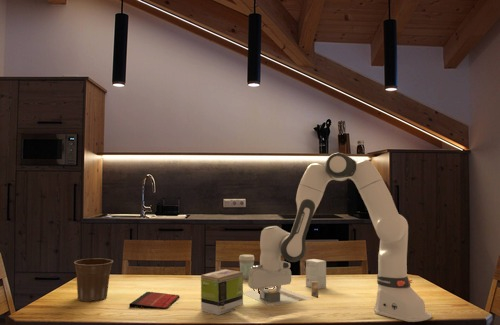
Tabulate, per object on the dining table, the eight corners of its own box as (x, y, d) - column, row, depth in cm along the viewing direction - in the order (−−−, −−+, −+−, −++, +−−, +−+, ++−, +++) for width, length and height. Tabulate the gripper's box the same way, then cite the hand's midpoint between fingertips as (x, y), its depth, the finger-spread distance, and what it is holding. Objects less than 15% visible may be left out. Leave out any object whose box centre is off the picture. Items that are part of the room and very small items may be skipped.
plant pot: (119, 295, 207) (120, 259, 207) (98, 304, 191) (99, 265, 192) (88, 292, 211) (88, 257, 212) (65, 301, 196) (65, 263, 196)
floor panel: (312, 302, 198) (313, 298, 198) (270, 309, 186) (270, 305, 187) (278, 289, 220) (278, 286, 220) (238, 295, 209) (238, 292, 209)
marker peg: (319, 297, 206) (319, 282, 206) (314, 298, 204) (314, 282, 204) (315, 296, 208) (315, 280, 209) (310, 297, 207) (310, 281, 207)
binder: (129, 303, 187) (146, 291, 208) (128, 308, 187) (146, 296, 208) (167, 306, 185) (181, 294, 206) (167, 312, 185) (180, 299, 206)
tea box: (225, 303, 195) (225, 268, 196) (243, 307, 189) (243, 271, 189) (200, 311, 183) (200, 273, 184) (218, 316, 177) (218, 277, 178)
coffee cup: (236, 276, 249) (236, 254, 249) (251, 276, 251) (251, 253, 252) (241, 280, 241) (241, 257, 241) (256, 279, 243) (256, 256, 244)
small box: (326, 287, 226) (326, 260, 227) (317, 289, 222) (317, 262, 223) (314, 284, 232) (314, 258, 233) (305, 286, 228) (305, 259, 229)
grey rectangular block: (280, 301, 194) (280, 291, 194) (270, 302, 191) (270, 293, 191) (269, 296, 201) (269, 288, 201) (259, 298, 198) (260, 289, 198)
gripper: (253, 267, 188) (253, 301, 188) (293, 263, 199) (293, 295, 199) (245, 265, 194) (245, 298, 193) (284, 261, 205) (284, 292, 204)
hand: (269, 297), depth 196 cm, fingers closed on grey rectangular block, 5 cm apart
